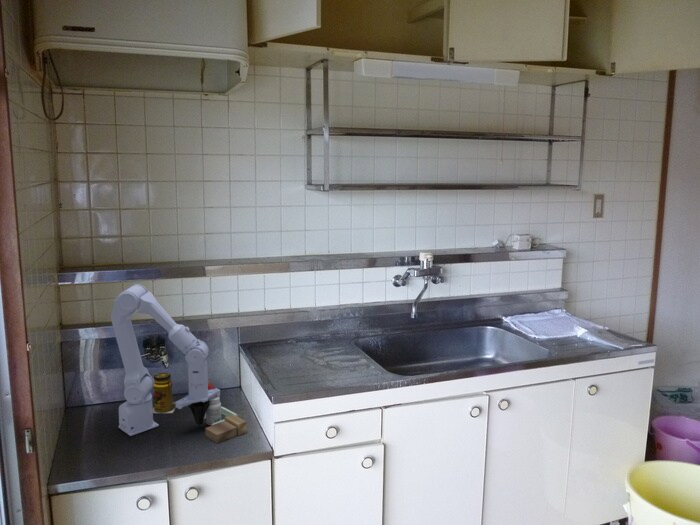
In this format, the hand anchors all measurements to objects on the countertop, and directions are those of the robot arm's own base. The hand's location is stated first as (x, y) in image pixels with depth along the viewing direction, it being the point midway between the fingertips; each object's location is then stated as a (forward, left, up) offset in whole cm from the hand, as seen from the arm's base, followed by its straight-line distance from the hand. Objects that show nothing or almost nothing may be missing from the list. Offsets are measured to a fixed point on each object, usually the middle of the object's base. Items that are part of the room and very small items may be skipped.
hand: (199, 423), depth 183 cm
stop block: (+7, -9, -1) cm, 12 cm away
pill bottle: (+5, 0, -2) cm, 5 cm away
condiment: (0, +20, -2) cm, 20 cm away
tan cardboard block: (+2, -9, -2) cm, 10 cm away
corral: (+7, 0, -1) cm, 7 cm away
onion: (+12, +13, -2) cm, 17 cm away
